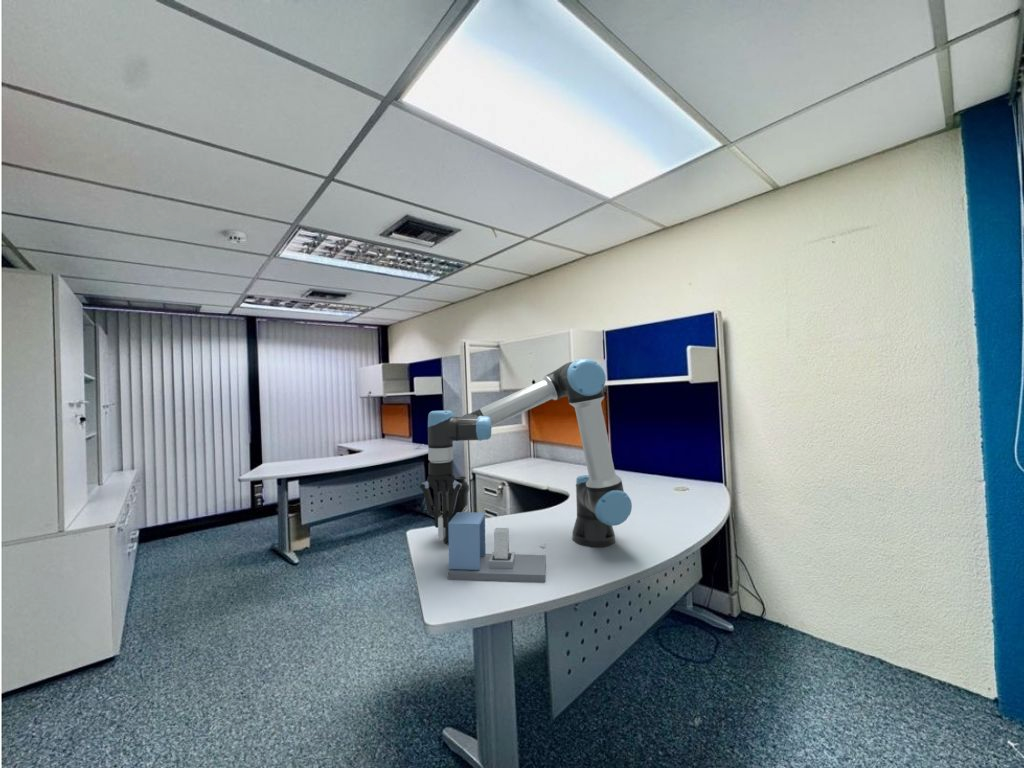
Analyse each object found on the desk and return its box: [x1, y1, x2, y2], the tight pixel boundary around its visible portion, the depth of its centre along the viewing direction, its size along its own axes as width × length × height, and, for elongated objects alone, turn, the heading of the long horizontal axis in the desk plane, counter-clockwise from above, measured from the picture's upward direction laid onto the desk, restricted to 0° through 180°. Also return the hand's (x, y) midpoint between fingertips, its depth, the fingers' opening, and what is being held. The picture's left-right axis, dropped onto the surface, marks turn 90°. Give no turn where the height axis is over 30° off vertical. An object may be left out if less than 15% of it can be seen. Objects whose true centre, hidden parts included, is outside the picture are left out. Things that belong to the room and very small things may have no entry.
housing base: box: [447, 551, 547, 583], centre depth 120 cm, size 28×14×4 cm, turn 84°
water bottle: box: [440, 476, 470, 546], centre depth 145 cm, size 10×10×23 cm
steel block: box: [493, 527, 510, 561], centre depth 120 cm, size 4×4×10 cm
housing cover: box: [448, 511, 487, 570], centre depth 121 cm, size 9×11×13 cm
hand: (441, 537), depth 122 cm, fingers closed
